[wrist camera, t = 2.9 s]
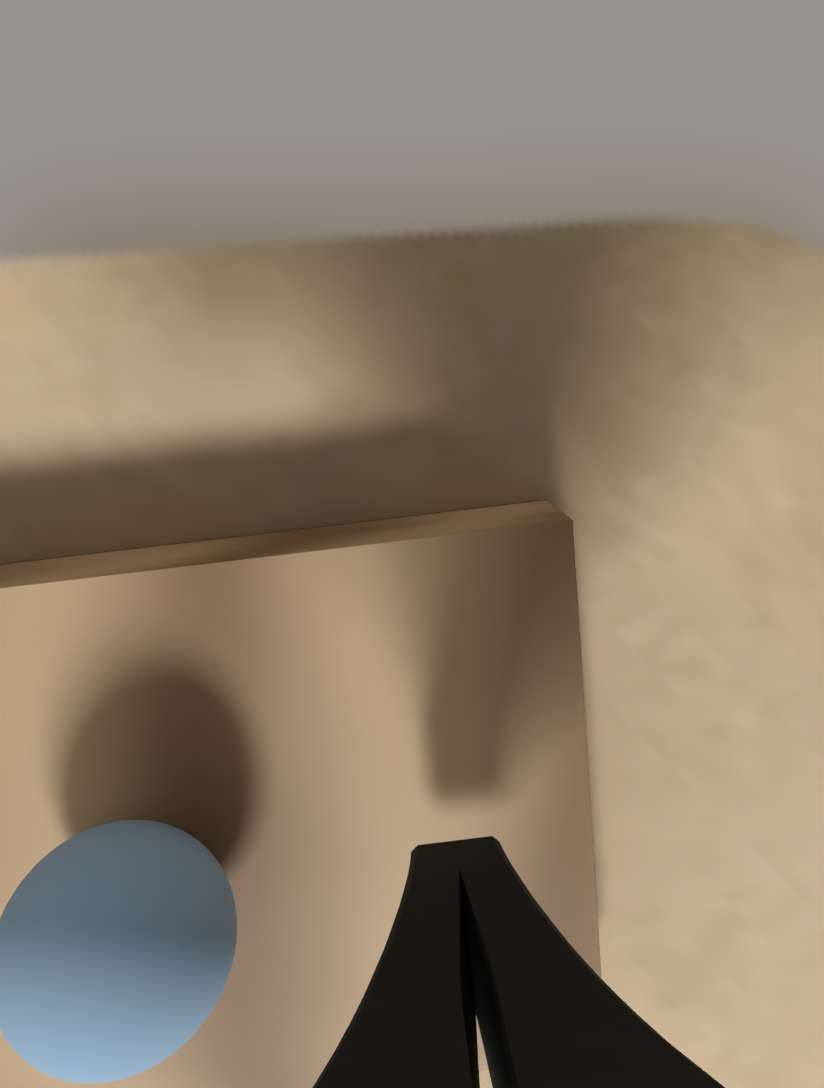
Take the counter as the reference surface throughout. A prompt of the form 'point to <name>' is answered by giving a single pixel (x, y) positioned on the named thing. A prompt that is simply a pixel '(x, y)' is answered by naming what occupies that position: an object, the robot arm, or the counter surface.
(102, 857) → the ball
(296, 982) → the board
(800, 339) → the counter surface
